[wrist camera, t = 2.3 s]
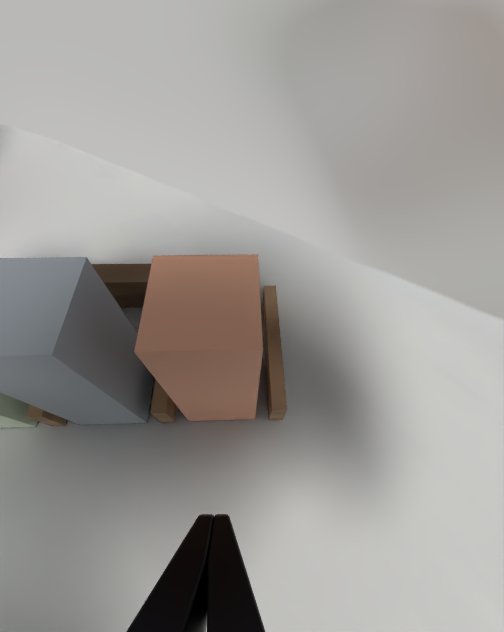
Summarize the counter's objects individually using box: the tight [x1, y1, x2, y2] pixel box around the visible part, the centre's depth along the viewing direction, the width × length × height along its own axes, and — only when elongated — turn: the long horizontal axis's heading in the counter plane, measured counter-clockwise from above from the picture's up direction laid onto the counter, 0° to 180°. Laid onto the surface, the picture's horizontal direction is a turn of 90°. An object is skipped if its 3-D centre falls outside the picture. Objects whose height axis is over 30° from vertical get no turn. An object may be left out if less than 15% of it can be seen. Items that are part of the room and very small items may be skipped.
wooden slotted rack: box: [26, 264, 287, 426], centre depth 19 cm, size 10×20×3 cm, turn 92°
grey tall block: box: [0, 257, 154, 425], centre depth 14 cm, size 4×4×10 cm
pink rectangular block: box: [134, 255, 263, 421], centre depth 14 cm, size 4×4×10 cm
